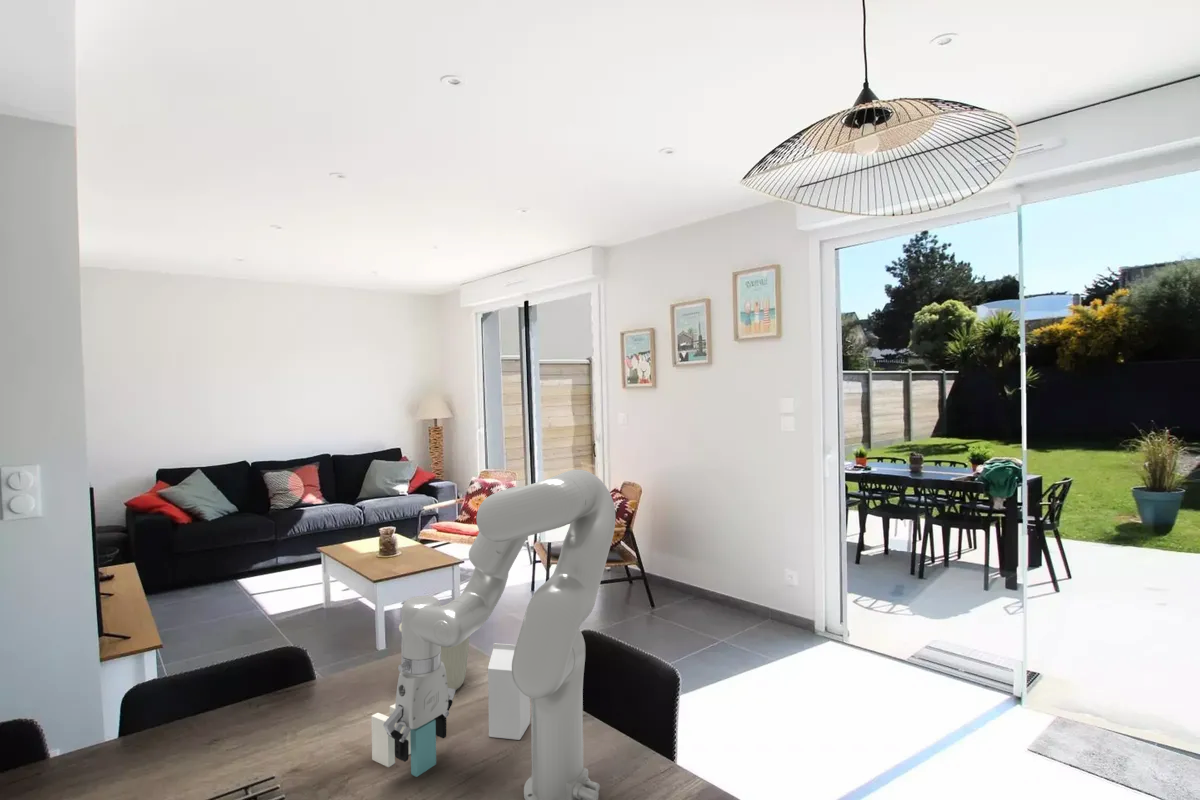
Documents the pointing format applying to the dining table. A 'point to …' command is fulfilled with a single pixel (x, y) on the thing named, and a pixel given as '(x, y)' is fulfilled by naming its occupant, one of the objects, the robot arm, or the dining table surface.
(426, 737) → the domino
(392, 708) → the domino
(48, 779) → the dining table surface
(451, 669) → the canister
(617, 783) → the dining table surface
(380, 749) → the domino
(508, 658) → the milk carton
